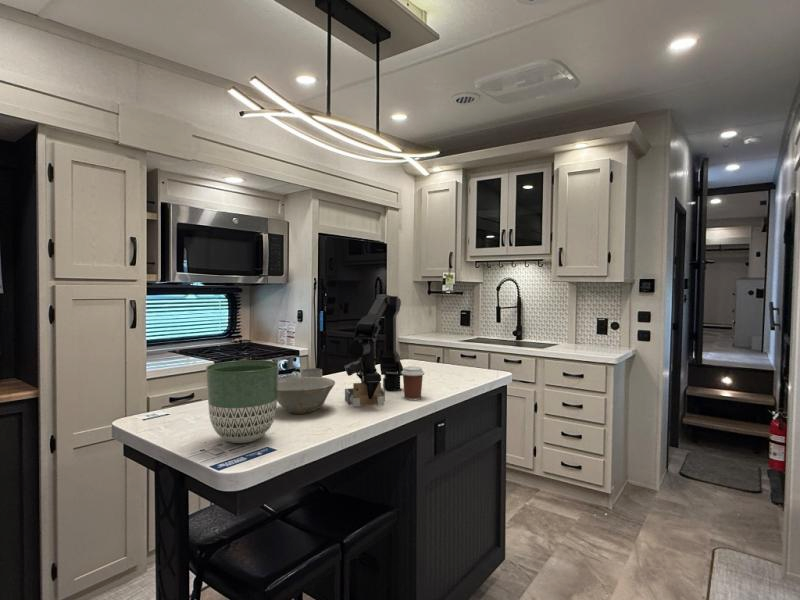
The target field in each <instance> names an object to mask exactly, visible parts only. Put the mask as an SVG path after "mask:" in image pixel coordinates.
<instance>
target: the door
mask: <svg viewBox="0 0 800 600" xmlns="http://www.w3.org/2000/svg"><path fill="white" fill-rule="evenodd" d="M352 388H353V398H360V407H361V406H370V405H371V406H372V405H373V406H374V405H376V406H377V397H381V388H382V383H381V382H380V383H379V384H378V386H377V388H376V390H375V393H374V395H373V397H372V399H368V393H367V387H366V384H365V383H361V382H356V383H355V382H354V383H353V387H352Z"/></svg>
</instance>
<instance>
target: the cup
mask: <svg viewBox="0 0 800 600" xmlns="http://www.w3.org/2000/svg"><path fill="white" fill-rule="evenodd" d="M300 377H322V378H323V369H321V368H312V367H311V368H303V369H301V370H300Z"/></svg>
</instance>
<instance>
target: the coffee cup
mask: <svg viewBox="0 0 800 600" xmlns="http://www.w3.org/2000/svg"><path fill="white" fill-rule="evenodd" d="M403 369H404V370H403V371H402V372H401V374H402V375H403V376H402V380H403V393H404V399H405V398H406V399H405V400H407V399H412V400H411V401H414V400H413V399H419V400H421V399H422V389H423V388H422V387H423V377H424V375H425V371H424V370H423V368H422V367H421V366H416V365H415V366H414V365H413V366H411V365H410V366H404V367H403ZM420 398H421V399H420Z"/></svg>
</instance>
